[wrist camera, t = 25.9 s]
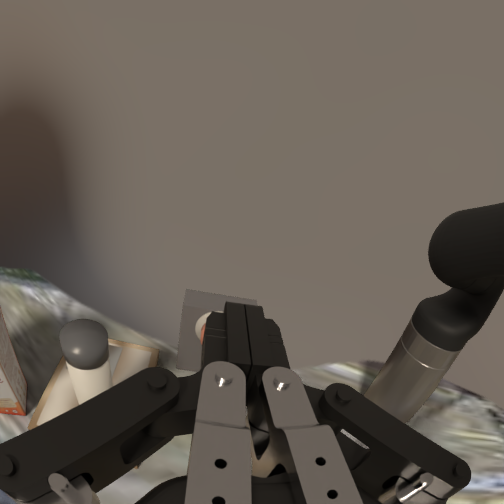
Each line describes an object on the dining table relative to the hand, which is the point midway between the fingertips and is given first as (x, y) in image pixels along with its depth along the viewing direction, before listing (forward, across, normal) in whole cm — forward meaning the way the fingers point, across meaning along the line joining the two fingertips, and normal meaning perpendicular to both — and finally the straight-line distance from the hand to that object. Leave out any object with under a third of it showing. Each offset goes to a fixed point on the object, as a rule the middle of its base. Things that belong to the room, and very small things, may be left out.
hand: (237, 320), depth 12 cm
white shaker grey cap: (+8, +11, +24) cm, 28 cm away
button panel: (+23, -2, +26) cm, 35 cm away
